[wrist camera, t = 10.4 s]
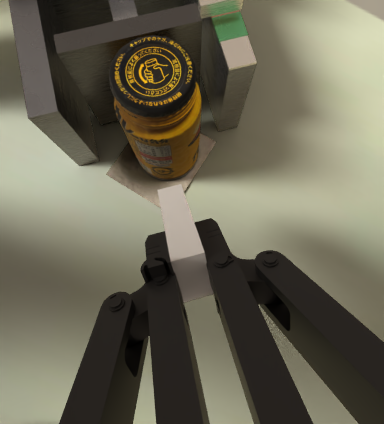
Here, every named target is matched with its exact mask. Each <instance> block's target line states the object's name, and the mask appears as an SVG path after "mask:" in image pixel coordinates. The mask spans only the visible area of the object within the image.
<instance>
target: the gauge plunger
mask: <svg viewBox="0 0 384 424" xmlns="http://www.w3.org/2000/svg"><path fill="white" fill-rule="evenodd" d="M109 4H110V8H111V12H112V16H113V20H114V21H113V22H109V23H104V24H100V25H95V26H91V27H86V28H82V29H78V30H73V31H69V32H64V33H60V34H55V35H53V36H54V41H55V46H56V51H57V54H58V56H59V58H60V59H61V61H62V62H63V64H64V66H65V67H66V69H67V70H68V72H69V74H70V75H71V77H72V78H73V80H74V82H75V83H76V85H77V87H78V88H79V90H80V91H81V93H82V95H83V96H84V98H85V99H86V101H87V103H88V104H89V106H90V107H91V109H92V111H93V112H94V114H95V115H96V117H97V119H98V120H99V122H100V123H101V124H105V123H109V122H113V121H117V120H118V118H117V115H116V111H115V108H114V99H115V97H114V96H113V94H112V90H111V88H110V81H109V70H110V66H111V63H112V60H113V58H114V57H115V55H116V54H117V53H118V51H119V50H120V48H122V47H123V46H124V45H126V44H128V43H129V42H131V41H132V40H134V39H137V38H140V37H145V36H152V35H154V36H161V37H166V36H167V37H168V38H170V39H172V40H174V41H175V42H177V43H179V44H181V45H182V46H183V47H184V48H185V49H186V50H187V51H188V52H189V54H190V55H191V57H192V58H193V60H194V63H195V66H196V72H197V74H196V75H197V81H196V82H197V84H198V86H199V90H200V65H201V38H202V18H207V17H211V16H216V15H220V14H224V13H229V12H233V11H238V10H242V5H243V0H198V6H197V3H194V4H189V5H185V6H180V7H176V8H171V9H167V10H162V11H158V12H153V13H149V14H144V15H140V16H138V14H137V10H136V6H135V3H134V0H109Z"/></svg>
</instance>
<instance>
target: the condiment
mask: <svg viewBox="0 0 384 424" xmlns="http://www.w3.org/2000/svg"><path fill="white" fill-rule="evenodd" d="M196 74H197V72H196V66H195V63H194V60H193V58H192V57H191V55H190V54H189V52H188V51H187V50H186V49H185V48H184V47H183V46H182V45H181V44H179V43H177V42H175V41H174V40H172V39H170V38H168V37H167V36H166V37H161V36H154V35H152V36H145V37H140V38H137V39H134V40H132V41H131V42H129V43H128V44H126V45H124V46H123V47H122V48H120V50H119V51H118V53H117V54H116V55H115V57H114V58H113V60H112V63H111V66H110V70H109V81H110V88H111V90H112V94H113V96H114V97H115V99H114V108H115V111H116V115H117V118H118V120H119V122H120V125H121V126H122V128H123V130H124V132H125V135H126V136H127V139H128V141H129V143H128V144H127V145H126V147H125V148H124V150H123V151H122V153H121V154H120V156H119V157H118V158H117V160H116V161H115V162H114V164H113V165H112V166H111V168H110V169H109V171H108V172H107V174H106V175H108V176H110V177H111V178H113V179H114V180H116V181H118V182H119V183H121V184H122V185H124V186H126V187H127V188H129V189H131V190H132V191H134V192H135V193H137V194H139V195H140V196H142V197H144V198H145V199H147V200H149V201H150V202H152V203H154V204H155V205H157V206H158V207H160V201H159V196H158V191H157V190H159V189H163V188H167V187H171V186H175V185H179V184H181V185H182V188H183V191H185V190H186V188H187V187H188V185H189V184H190V182H191V181H192V179H193V178H194V176H195V175H196V173H197V172H198V170H199V168H200V167H201V165H202V164H203V162H204V161H205V159H206V158H207V156H208V154H209V153H210V151H211V150H212V148H213V146H214V145H215V143H216V141H214V140H212V139H211V138H209V137H207V136H205V135H203V134H202V133H200V128H201V124H200V123H201V94H200V90H199V86H198V84H197V82H196V81H197V75H196ZM160 208H161V207H160Z"/></svg>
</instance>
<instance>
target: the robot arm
mask: <svg viewBox="0 0 384 424" xmlns="http://www.w3.org/2000/svg"><path fill="white" fill-rule="evenodd" d="M157 191H158V196H159V201H160V207H161V212H162V218H163V223H164V228H165V231H164V232H160V233H156V234H153V235H149V236H148V237H147V240H146V242H145V248H146V261H145V262H144V263H143V264H142V266H141V273H142V275H143V278H144V280H145V284H144V285H143V286H142V287H141V288H140V289H139V290H137V291H136V292H134V293H132V294H130V295H129V294H128V293H126V292H117V293H114V294H112V295H110V296H109V297H108V298H107V299H106V300H105V301H104V302H103V304H102V306H101V309H100V312H99V314H98V317H97V320H96V323H95V325H94V328H93V331H92V334H91V337H90V339H89V342H88V345H87V348H86V350H85V353H84V356H83V359H82V361H81V364H80V367H79V370H78V373H77V375H76V378H75V381H74V384H73V386H72V389H71V392H70V395H69V397H68V400H67V403H66V406H65V409H64V411H63V414H62V417H61V420H60V422H59V424H133V420H134V414H135V409H136V403H137V398H138V393H139V387H140V382H141V376H142V371H143V365H144V360H145V354H146V349H147V343H148V336H150V346H151V359H152V372H153V386H154V399H155V412H156V424H210V423H209V418H208V413H207V408H206V404H205V399H204V394H203V389H202V385H201V380H200V375H199V370H198V366H197V361H196V356H195V351H194V347H193V342H192V337H191V332H190V328H189V323H188V318H187V313H186V310H185V307H184V302H188V301H191V300H195V299H198V298H202V297H205V296H209V295H212V294H214V297H215V301H216V306H217V310H218V314H219V315H220V318H221V321H222V324H223V327H224V330H225V333H226V337H227V340H228V343H229V346H230V349H231V352H232V356H233V359H234V362H235V365H236V368H237V371H238V374H239V378H240V381H241V384H242V387H243V390H244V393H245V397H246V400H247V403H248V406H249V409H250V412H251V415H252V419H253V422H254V424H313V422H312V420H311V418H310V416H309V414H308V412H307V409H306V407H305V405H304V403H303V401H302V399H301V396H300V394H299V392H298V390H297V388H296V386H295V384H294V381H293V379H292V377H291V375H290V373H289V371H288V369H287V366H286V364H285V362H284V360H283V358H282V356H281V354H280V351H279V349H278V347H277V345H276V343H275V341H274V339H273V336H272V334H271V332H270V330H269V328H268V326H267V324H266V321H265V319H264V317H263V315H262V313H261V311H260V309H259V306H258V304H260V306H261V307H262V308H263V310H264V311H265V312H266V313H267V314H268V316H269V317H270V318H271V319H272V320H273V322H274V323H275V324H276V325H277V326H278V328H279V329H280V330H281V331H282V332H283V334H284V335H285V336H286V337H287V338H288V340H289V341H290V342H291V343H292V344H293V346H294V347H295V348H296V349H297V350H298V352H299V353H300V354H301V355H302V356H303V358H304V359H305V360H306V361H307V362H308V363H309V365H310V366H311V367H312V368H313V369H314V371H315V372H316V373H317V374H318V375H319V377H320V378H321V379H322V380H323V381H324V383H325V384H326V385H327V386H328V387H329V389H330V390H331V391H332V392H333V393H334V395H335V396H336V397H337V398H338V399H339V401H340V402H341V403H342V404H343V405H344V407H345V408H346V409H347V410H348V411H349V412H350V414H351V415H352V416H353V417H354V418H355V420H356V421H357V422H358V423H359V424H384V342H383V341H382V340H380V339H379V338H378V337H377V336H376V335H375V334H373V333H372V332H371V331H370V330H369V329H368V328H367V327H365V326H364V325H363V324H362V323H361V322H360V321H359V320H357V319H356V318H355V317H354V316H353V315H352V314H350V313H349V312H348V311H347V310H346V309H345V308H344V307H342V306H341V305H340V304H339V303H338V302H337V301H336V300H334V299H333V298H332V297H331V296H330V295H329V294H327V293H326V292H325V291H324V290H323V289H322V288H321V287H319V286H318V285H317V284H316V283H315V282H314V281H313V280H311V279H310V278H309V277H308V276H307V275H306V274H304V273H303V272H302V271H301V270H300V269H299V268H298V267H296V266H295V265H294V264H293V263H292V262H291V261H290V260H288V259H287V258H286V257H285V256H284V255H283V254H281V253H279V252H277V251H273V250H269V251H263V252H261V253H259V254H258V255H257V256H256V258H255V259H252V260H246V259H240V258H237V257H235V256H234V255H233V254H232V253H231V252H230V250H229V248H228V245H227V243H226V241H225V239H224V237H223V235H222V232H221V230H220V228H219V226H218V224H217V222H215V221H214V220H213V219H211V218H210V219H206V220H203V221H199V222H195V223H194V220H193V217H192V214H191V211H190V208H189V205H188V203H187V200H186V197H185V194H184V191H183V188H182V185H181V184H179V185H175V186H171V187H167V188H163V189H159V190H157Z"/></svg>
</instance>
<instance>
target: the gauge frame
mask: <svg viewBox="0 0 384 424" xmlns="http://www.w3.org/2000/svg"><path fill="white" fill-rule="evenodd" d="M134 3H135V6H136V10H137V14H138V16H140V15H144V14H149V13H153V12H158V11H162V10H167V9H171V8H176V7H180V6H185V5H189V4H194V3H197V6H198V0H134ZM9 6H10V12H11V18H12V24H13V30H14V36H15V42H16V48H17V54H18V60H19V66H20V72H21V78H22V84H23V90H24V96H25V102H26V108H27V114H28V119H30V120H31V121H32V122H33V123H34V124H35V125H36V126H37V127H38V128H39V129H40V130H41V131H42V132H43V133H45V134H46V135H47V136H48V137H49V138H50V139H51V140H52V141H53V142H54V143H55V144H56V145H57V146H58V147H60V148H61V149H62V150H63V151H64V152H65V153H66V154H67V155H68V156H69V157H70V158H71V159H72V160H74V161H75V162H76V163H77V164H78V165H79V166H81V165H85V164H89V163H93V162H97V161H99V156H98V151H97V147H96V142H95V137H94V133H93V128H92V123H91V118H90V114H89V109H88V104H87V101H86V99H85V98H84V96H83V95H82V93H81V91H80V90H79V88H78V87H77V85H76V83H75V82H74V80H73V78H72V77H71V75H70V74H69V72H68V70H67V69H66V67H65V66H64V64H63V62H62V61H61V59H60V58H59V56H58V54H57V51H56V46H55V41H54V36H53V35H55V34H60V33H64V32H69V31H73V30H78V29H82V28H86V27H91V26H95V25H100V24H104V23H109V22H113V21H114V20H113V16H112V12H111V8H110V4H109V0H9ZM256 64H257V61H256V58H255V55H254V52H253V49H252V47H251V44H250V41H249V38H248V33H247V30H246V27H245V24H244V21H243V18H242V16H241V13H240V10H238V11H233V12H229V13H224V14H220V15H216V16H211V17H207V18H202V38H201V65H200V75H201V78H202V82H203V85H204V88H205V91H206V95H207V98H208V101H209V104H210V108H211V111H212V114H213V118H214V121H215V124H216V127H217V131H218V132H219V131H223V130H227V129H231V128H235V127H237V126H238V122H239V119H240V116H241V113H242V109H243V106H244V103H245V99H246V96H247V93H248V90H249V86H250V83H251V80H252V77H253V73H254V70H255V67H256Z"/></svg>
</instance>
